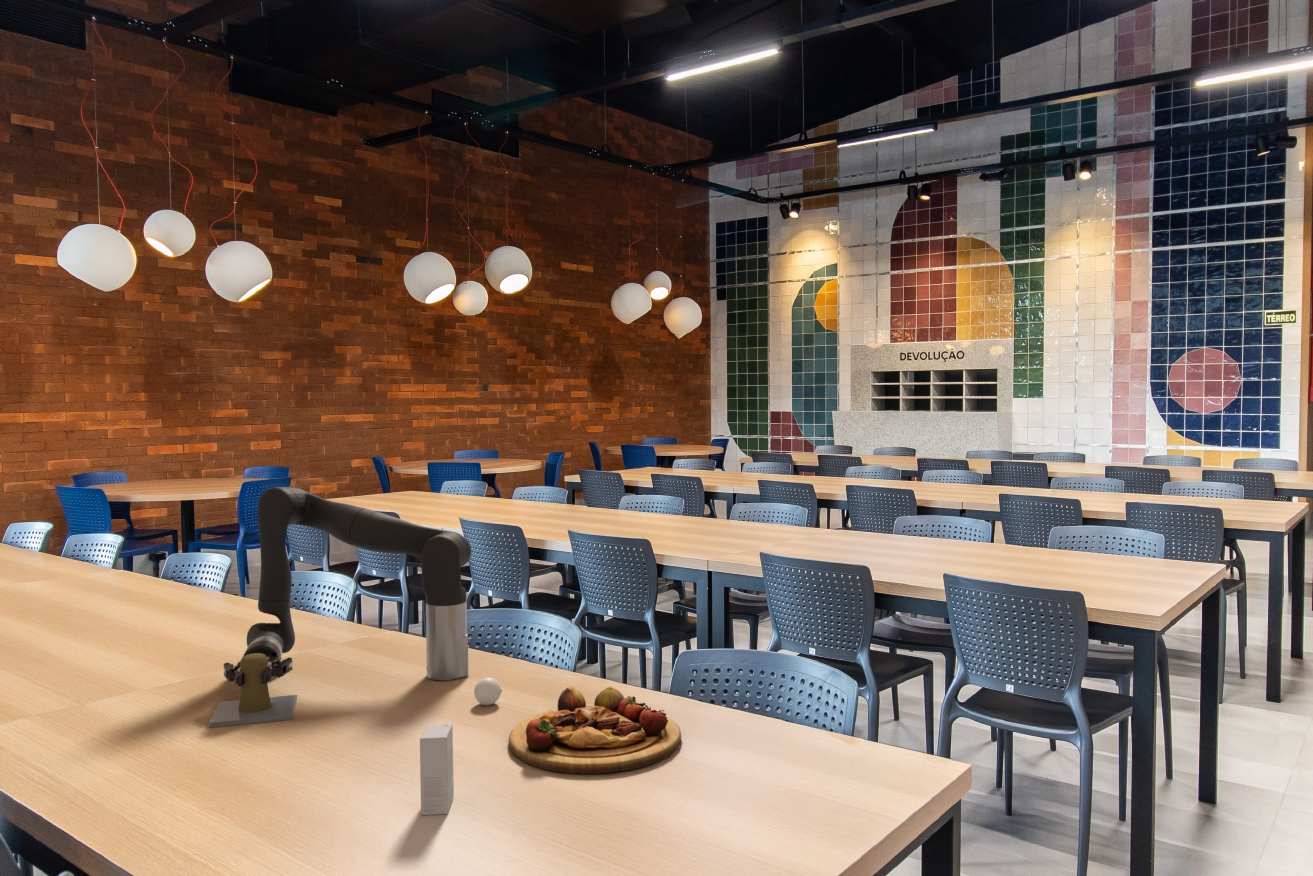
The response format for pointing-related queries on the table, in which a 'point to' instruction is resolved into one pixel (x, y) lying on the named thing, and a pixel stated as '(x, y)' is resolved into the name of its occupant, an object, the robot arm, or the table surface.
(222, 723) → the slate tile
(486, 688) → the white egg
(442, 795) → the skincare box
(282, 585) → the robot arm
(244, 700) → the cork
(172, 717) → the table surface
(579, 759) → the wooden plate with food
